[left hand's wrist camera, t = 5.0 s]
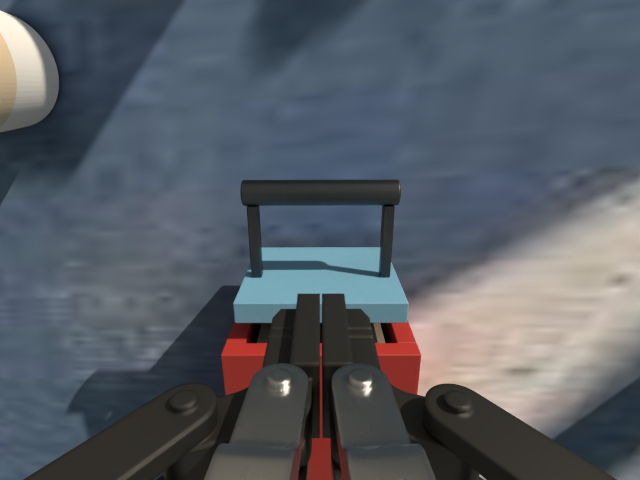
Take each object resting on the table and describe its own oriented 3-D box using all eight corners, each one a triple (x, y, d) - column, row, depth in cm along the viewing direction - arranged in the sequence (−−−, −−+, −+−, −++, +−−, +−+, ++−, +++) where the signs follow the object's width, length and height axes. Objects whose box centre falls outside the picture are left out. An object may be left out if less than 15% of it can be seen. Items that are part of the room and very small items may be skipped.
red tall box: (253, 272, 29) (220, 354, 20) (389, 271, 29) (421, 355, 20) (266, 462, 36) (246, 592, 26) (377, 462, 36) (397, 592, 26)
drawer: (251, 166, 25) (222, 194, 18) (389, 165, 25) (418, 193, 18) (269, 440, 33) (254, 538, 26) (373, 440, 33) (389, 538, 26)
